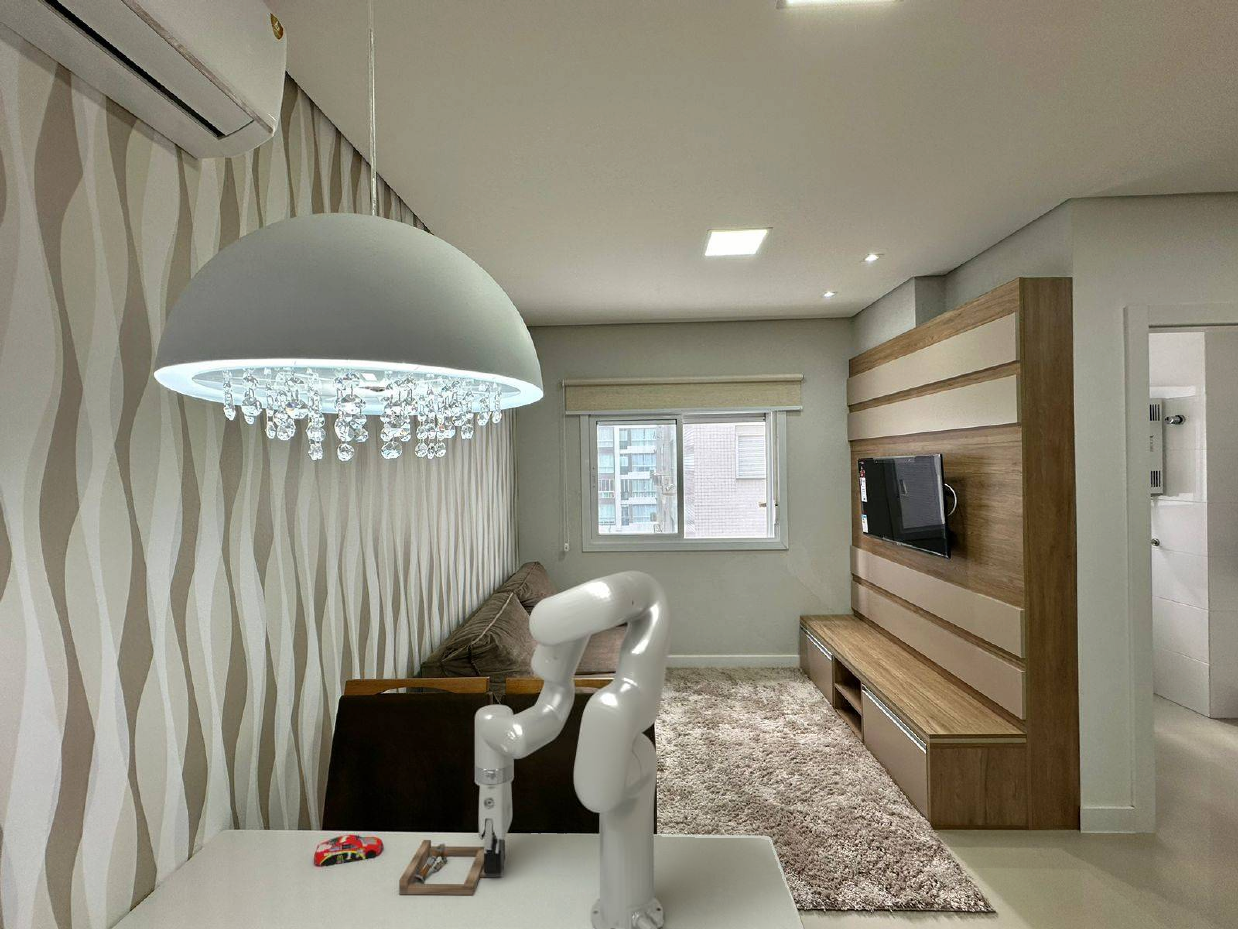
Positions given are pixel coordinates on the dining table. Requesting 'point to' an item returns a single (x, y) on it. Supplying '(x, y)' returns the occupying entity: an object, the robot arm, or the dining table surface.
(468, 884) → the brown hollow square frame
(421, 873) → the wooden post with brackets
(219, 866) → the dining table surface
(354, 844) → the race car
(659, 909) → the robot arm
